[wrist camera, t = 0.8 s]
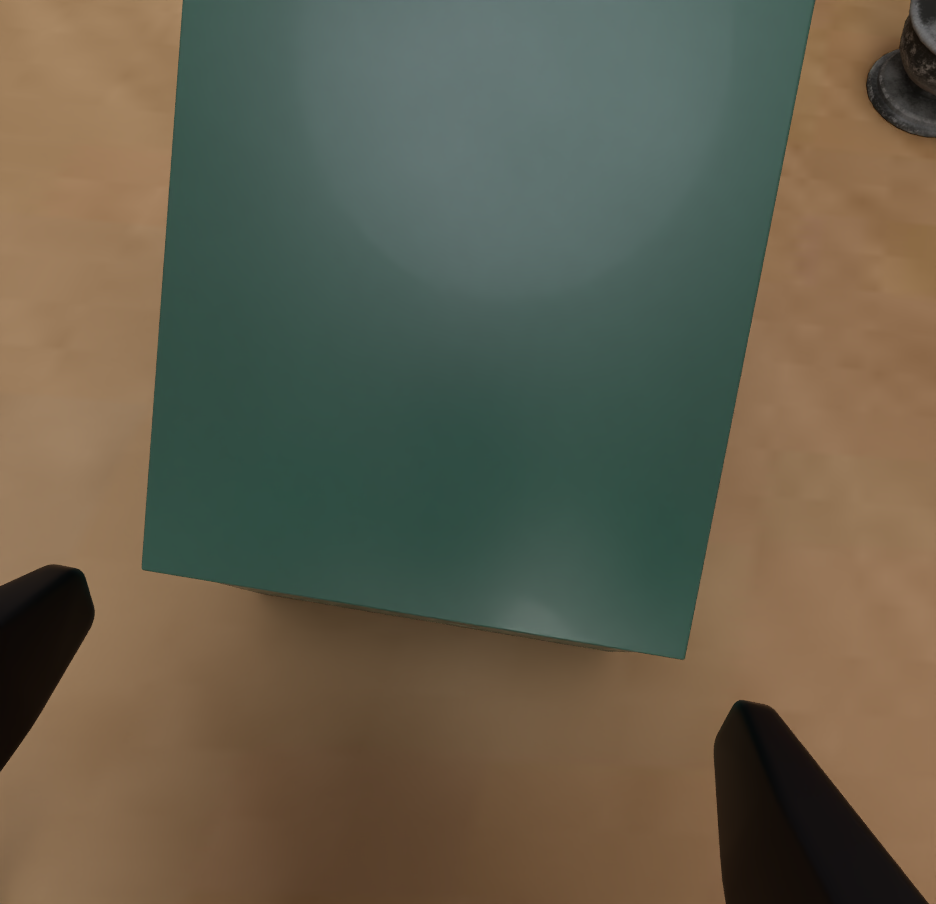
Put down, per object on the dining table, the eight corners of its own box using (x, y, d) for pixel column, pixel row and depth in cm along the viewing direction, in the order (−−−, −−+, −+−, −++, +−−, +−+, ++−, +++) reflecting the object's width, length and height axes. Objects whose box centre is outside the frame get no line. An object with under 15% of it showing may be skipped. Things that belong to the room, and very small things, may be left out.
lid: (212, -133, 13) (193, -166, 12) (816, -75, 12) (837, -106, 12) (159, 560, 15) (139, 571, 14) (675, 645, 14) (684, 661, 14)
